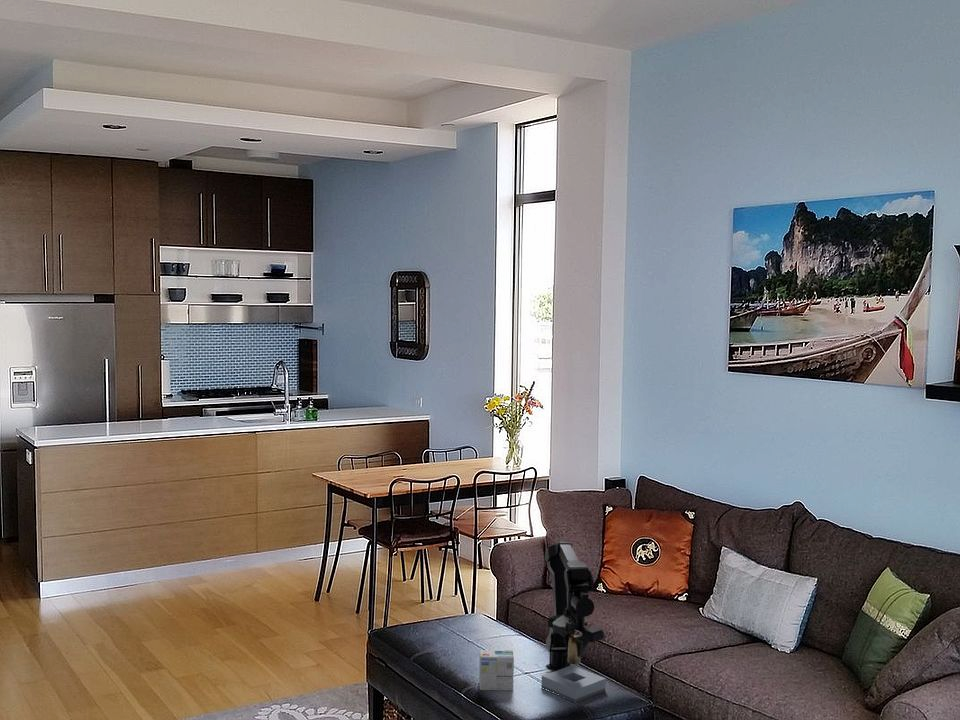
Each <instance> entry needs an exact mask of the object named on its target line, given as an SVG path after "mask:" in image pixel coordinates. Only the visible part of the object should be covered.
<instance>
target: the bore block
mask: <svg viewBox="0 0 960 720" xmlns="http://www.w3.org/2000/svg"><path fill="white" fill-rule="evenodd" d="M570 665H571V666H568V667H565V668H562V669H560V670H557V671H555V670H554V671H551V672H549V673H546V674H543V675H541V687H542V688H544V689H547V690H549V691H551V692H554V693H556V694H559V695H561V696H562V697H561V696H560V697H561V698H563V697H565V698H567V699H566V700H568V699H569V700H568V701H570V700H571V701H570V702H572V701H573V702H572V703H575V702H576V703H579V702H581V701H583V699H584V700H586V699H588V698H591V697H594V696H596V695H599V694H601V693H604V692H606V684H607V682H606V681H607V680H606V679H607V678H606V677H603V676H601V675H598V674H595V673H592V672H590V671H588V670H585V669H584V668H580V667H578V666H575V665H574V664H570ZM542 688H541V689H542ZM544 689H543V690H544ZM547 690H546V691H547ZM549 691H548V692H549ZM551 692H550V693H551ZM554 693H553V694H554ZM556 694H555V695H556ZM565 698H564V699H565Z"/></svg>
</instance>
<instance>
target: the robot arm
mask: <svg viewBox="0 0 960 720" xmlns="http://www.w3.org/2000/svg"><path fill="white" fill-rule="evenodd" d="M544 559H545V560H544V561H545V562H546V567H547V569H548V571H549V572H550V573H551V578H552V598H553V599H552V600H553V616H549V618H548V620H547V627H549V633H548V635H547V637H546V640H545V647H546V649H547V651H548V652H549V661H548V664H546V665H545V667H546V668H548V669H550V670H554V671H557V670H560V669H562V668H565V667H568V666H571V665H572V664H570V663H568V637H569V635H576V633H579V637H576V640H577V641H578V657H581V658H582V656H583V654H584V652H585V650H586V648H587V646H588V645H589V644H590V643H595V642H598V641H601V640H604V639H605V632H604V631H603V630H604V629H601V628H599V627H596V626H592V627H589V628H587V626H588V624H589V621H586V617H589V616H591V615H592V614H593V613H594V611H595V603H594V601H593V600H592V599H591V598H590V596H589V592H594V586H595V584H594V579H593V574H592V572H591V569H589V566H588V565H587V564H586V563H584V562H582V561H580V560H579V558H578V556H577V554H576V552H575V550H574V549H573V543H572V541H571V542H570V541H557V542H555V544H553V545H550V546H547V548H546V550H545V551H544ZM575 632H576V633H575Z"/></svg>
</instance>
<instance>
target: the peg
mask: <svg viewBox="0 0 960 720" xmlns="http://www.w3.org/2000/svg"><path fill="white" fill-rule="evenodd" d="M579 636H580V634H575V635H569V637H568V663H570V665H580V664H581V658H582V656H581V657H578V641H577V640H576V637H579Z"/></svg>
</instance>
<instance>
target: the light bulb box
mask: <svg viewBox="0 0 960 720" xmlns="http://www.w3.org/2000/svg"><path fill="white" fill-rule="evenodd" d="M514 657H515V656H514V650H513V649H480V650H479V665H478V668H479V671H478V672H479V675H478V680H479V681H478V682H479V683H478V684H479V691H514V669H515V668H514V666H515V665H514V664H515V658H514Z"/></svg>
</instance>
